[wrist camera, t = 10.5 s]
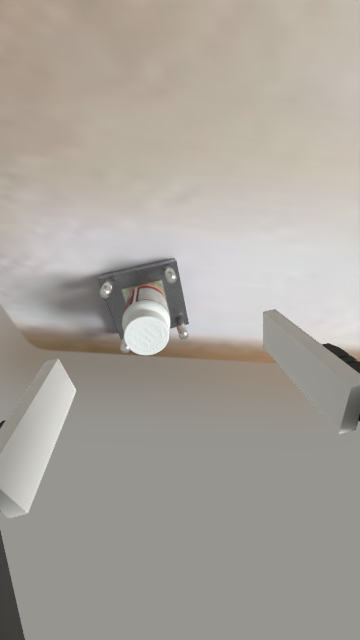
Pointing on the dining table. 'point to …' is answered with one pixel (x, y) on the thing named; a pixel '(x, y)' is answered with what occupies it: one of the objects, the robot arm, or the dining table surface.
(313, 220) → the dining table surface
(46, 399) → the robot arm
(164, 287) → the chassis
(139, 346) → the pill bottle
